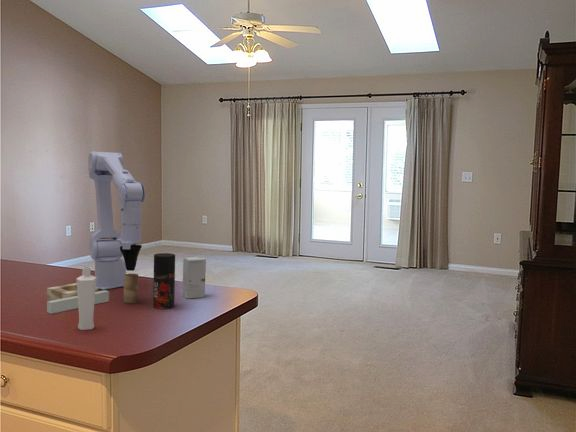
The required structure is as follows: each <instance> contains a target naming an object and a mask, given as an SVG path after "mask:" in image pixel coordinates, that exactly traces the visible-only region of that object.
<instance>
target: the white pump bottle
mask: <svg viewBox="0 0 576 432" xmlns="http://www.w3.org/2000/svg"><path fill="white" fill-rule="evenodd" d="M91 268H92V266H83V267H81V269H82V271H81V272H82V273H81V274H82V275H80V276H79V277H76V282H75V283H77V295H78V308H77V309H78V319H79V320H78V325H77V329H79V330H81V331H86V330H93V329H94V328H95V324H94V323H95V321H94V314H95V313H94V311H95V305H94V301H95V289H96V277H95V275H92V274H91V272H92V271H91Z"/></svg>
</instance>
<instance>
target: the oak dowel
mask: <svg viewBox="0 0 576 432" xmlns="http://www.w3.org/2000/svg"><path fill="white" fill-rule="evenodd" d="M138 288H139V273H126V274H124V286H123V300H122V301H123V303H125V304H136V303H137V302H138V301H139V299H138V297H139V296H138V295H139V294H138V293H139V292H138V291H139V289H138Z"/></svg>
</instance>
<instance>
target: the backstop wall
mask: <svg viewBox="0 0 576 432" xmlns="http://www.w3.org/2000/svg"><path fill="white" fill-rule="evenodd" d="M109 301H110V291H109V290H107V289H106V290H100V291H99V290H98V292H95V301H94V306H95V305H98V304H103V303H104V304H105V303H107V302H109ZM75 309H76V310H77V309H78V296H73V297H68V298H63V299H58V300H52V301H47V300H46V313H47V314H50V315H51V314H52V315H53V314H57V313H63V312H66V311H71V310H75Z"/></svg>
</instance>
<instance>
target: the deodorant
mask: <svg viewBox="0 0 576 432" xmlns="http://www.w3.org/2000/svg"><path fill="white" fill-rule="evenodd" d="M175 281H176V254H174V253H170V252H169V253H168V252H161V253H160V252H159V253H155V254H153V283H152V284H153V287H152V289H153V290H152V292H153V293H152V296H153V297H152V298H153V299H152V301H153V302H152V306H153V308H154V309H158V310H168V309H169V310H170V309H172V308H174V307H175V293H176V292H175V290H176V288H175V287H176V285H175V284H176V283H175Z"/></svg>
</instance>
